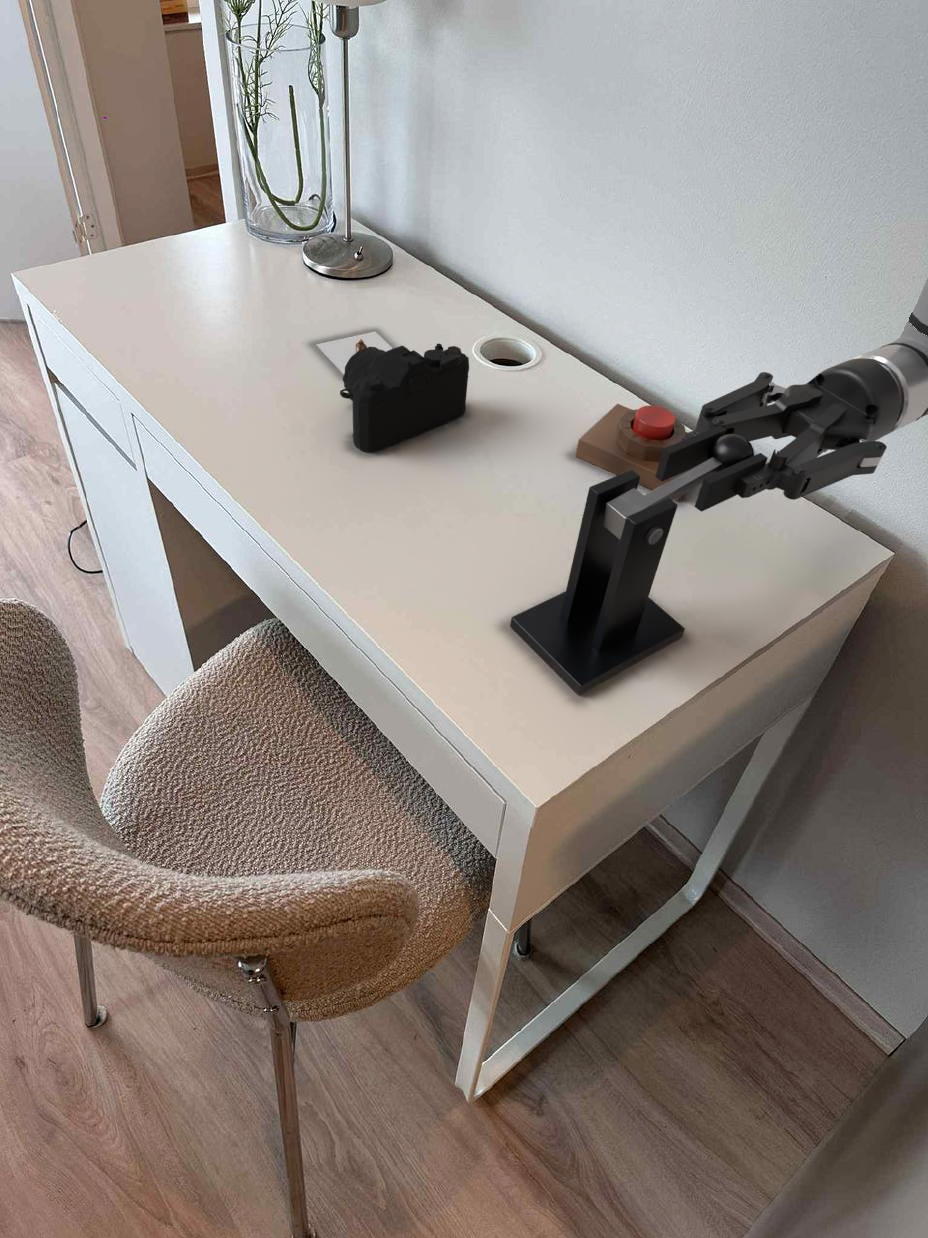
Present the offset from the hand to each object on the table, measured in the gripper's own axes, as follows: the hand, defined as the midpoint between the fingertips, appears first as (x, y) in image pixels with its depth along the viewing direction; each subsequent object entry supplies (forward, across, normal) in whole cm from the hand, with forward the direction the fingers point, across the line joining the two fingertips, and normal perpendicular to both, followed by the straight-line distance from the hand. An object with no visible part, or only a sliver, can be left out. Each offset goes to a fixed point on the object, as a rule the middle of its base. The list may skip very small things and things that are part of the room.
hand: (682, 479), depth 68 cm
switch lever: (0, 0, -2) cm, 2 cm away
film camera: (+3, +36, -14) cm, 39 cm away
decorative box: (-1, +49, -14) cm, 51 cm away
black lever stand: (+5, 0, -14) cm, 15 cm away
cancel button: (-16, +16, -11) cm, 25 cm away
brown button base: (-16, +16, -14) cm, 27 cm away
